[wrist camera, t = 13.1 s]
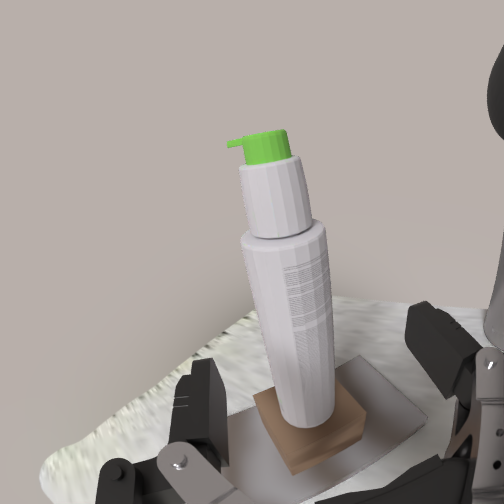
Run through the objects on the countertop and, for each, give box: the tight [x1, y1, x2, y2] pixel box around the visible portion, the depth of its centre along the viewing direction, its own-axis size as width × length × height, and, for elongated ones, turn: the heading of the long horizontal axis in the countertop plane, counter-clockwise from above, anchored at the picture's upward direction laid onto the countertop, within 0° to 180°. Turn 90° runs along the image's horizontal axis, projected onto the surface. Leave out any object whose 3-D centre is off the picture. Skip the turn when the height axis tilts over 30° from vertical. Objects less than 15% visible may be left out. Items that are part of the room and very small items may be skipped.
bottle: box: [227, 129, 335, 428], centre depth 16 cm, size 4×4×20 cm
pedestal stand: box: [221, 355, 428, 504], centre depth 21 cm, size 20×12×6 cm, turn 111°
